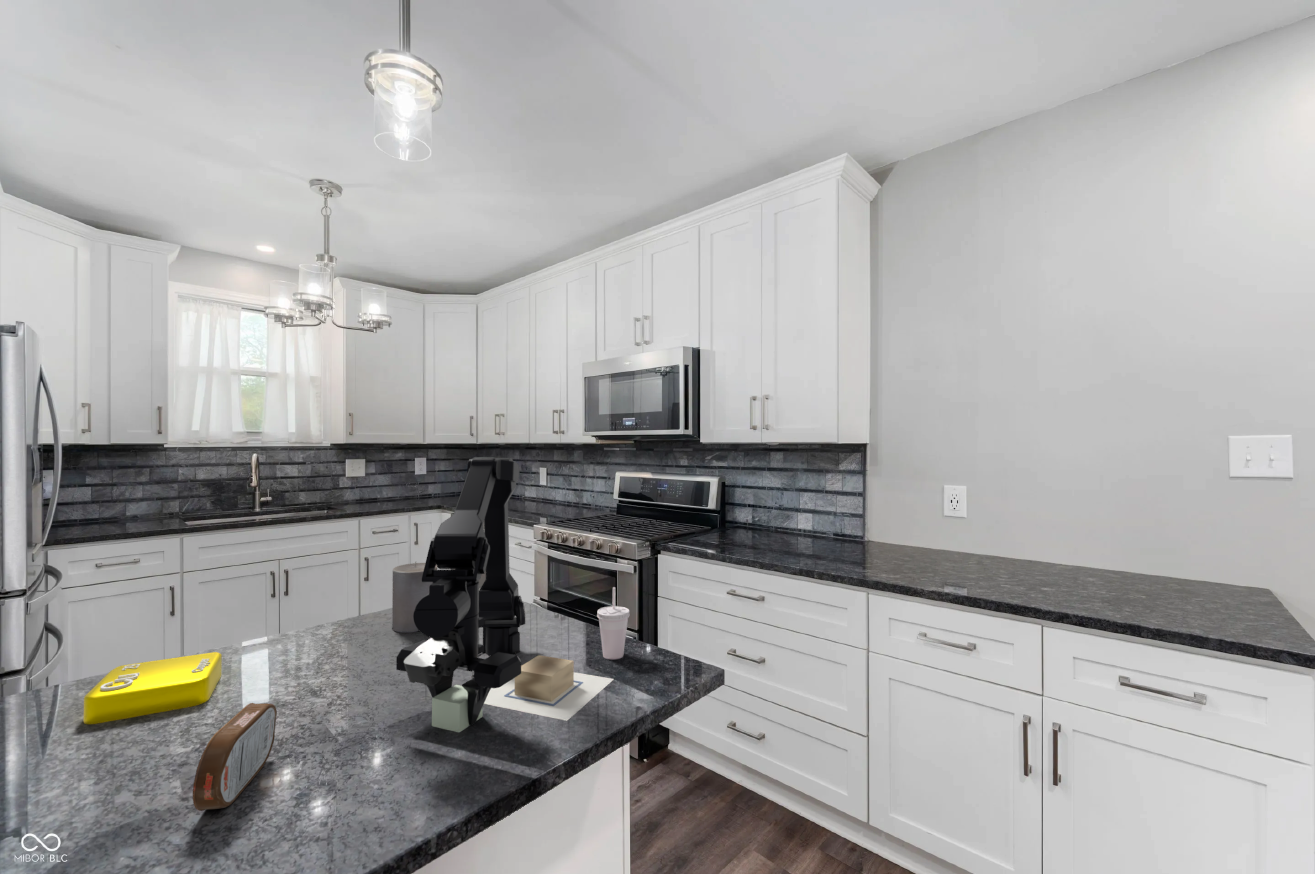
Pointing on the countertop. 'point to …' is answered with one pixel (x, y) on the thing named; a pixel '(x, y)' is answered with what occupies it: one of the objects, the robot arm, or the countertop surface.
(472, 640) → the robot arm
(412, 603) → the pillar candle
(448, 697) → the sage block
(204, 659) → the element tile
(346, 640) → the countertop surface
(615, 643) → the smoothie
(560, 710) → the white mat
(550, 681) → the maple block
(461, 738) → the countertop surface
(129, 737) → the countertop surface
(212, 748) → the tin
